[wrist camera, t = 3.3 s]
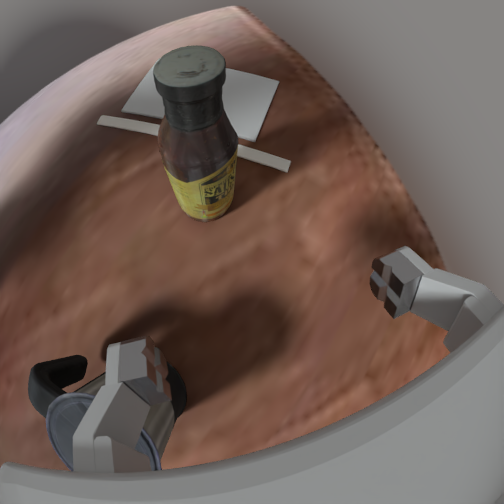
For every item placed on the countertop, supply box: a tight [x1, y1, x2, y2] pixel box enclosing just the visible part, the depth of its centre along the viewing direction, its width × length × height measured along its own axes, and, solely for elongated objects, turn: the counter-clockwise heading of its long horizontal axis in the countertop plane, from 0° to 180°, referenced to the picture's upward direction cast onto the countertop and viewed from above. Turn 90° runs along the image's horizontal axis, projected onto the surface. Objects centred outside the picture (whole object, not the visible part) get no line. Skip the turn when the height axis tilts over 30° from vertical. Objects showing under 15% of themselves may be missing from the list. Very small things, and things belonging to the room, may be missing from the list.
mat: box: [121, 58, 279, 142], centre depth 34 cm, size 20×12×1 cm, turn 72°
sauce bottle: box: [153, 46, 238, 222], centre depth 21 cm, size 7×6×20 cm
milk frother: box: [28, 355, 187, 471], centre depth 19 cm, size 14×16×15 cm
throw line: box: [97, 115, 291, 172], centre depth 32 cm, size 28×2×1 cm, turn 72°
